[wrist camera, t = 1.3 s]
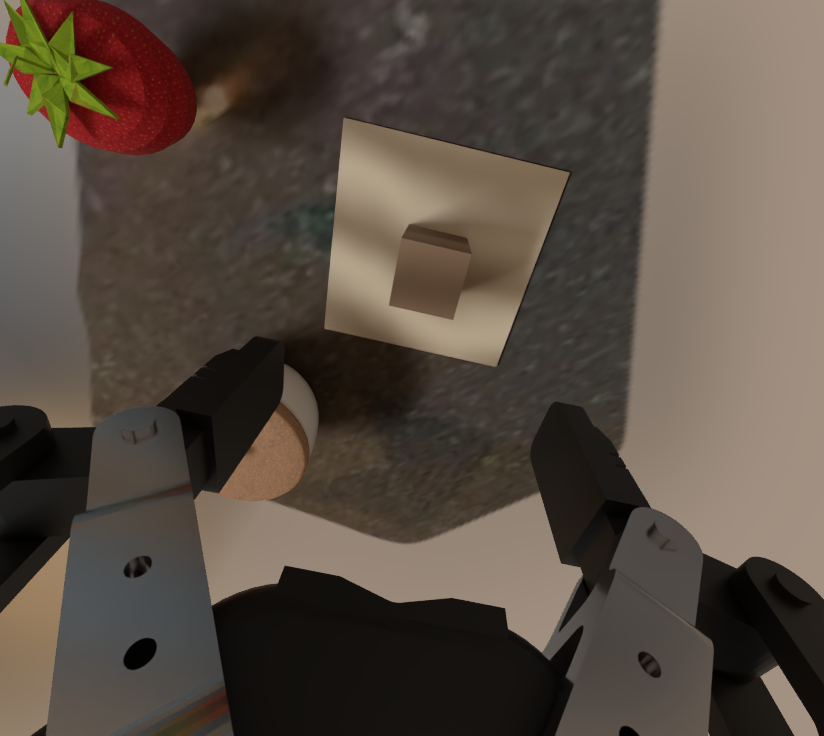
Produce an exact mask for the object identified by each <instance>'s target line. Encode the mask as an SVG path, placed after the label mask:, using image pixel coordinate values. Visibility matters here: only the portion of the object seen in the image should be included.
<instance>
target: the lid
mask: <svg viewBox="0 0 824 736" xmlns="http://www.w3.org/2000/svg"><path fill="white" fill-rule="evenodd" d="M569 174H570V173H569V172H565V171H561V170H557V169H553V168H549V167H545V166H540V165H536V164H532V163H528V162H524V161H520V160H516V159H512V158H508V157H504V156H499V155H495V154H491V153H487V152H483V151H479V150H475V149H471V148H467V147H463V146H458V145H454V144H450V143H446V142H442V141H438V140H434V139H430V138H426V137H422V136H417V135H413V134H409V133H405V132H401V131H397V130H393V129H389V128H385V127H381V126H376V125H372V124H368V123H364V122H360V121H356V120H352V119H348V118H344V120H343V131H342V142H341V153H340V164H339V174H338V185H337V196H336V207H335V218H334V228H333V239H332V250H331V261H330V272H329V282H328V293H327V304H326V315H325V326H324V329H328V330H333V331H337V332H342V333H346V334H351V335H355V336H360V337H364V338H369V339H373V340H378V341H382V342H387V343H391V344H395V345H400V346H404V347H409V348H413V349H418V350H422V351H427V352H431V353H436V354H440V355H445V356H449V357H454V358H458V359H463V360H467V361H472V362H476V363H481V364H485V365H490V366H494V367H496V366H497V364H498V361H499V358H500V356H501V353H502V350H503V348H504V345H505V342H506V340H507V337H508V335H509V332H510V329H511V327H512V324H513V321H514V319H515V316H516V313H517V311H518V308H519V306H520V303H521V300H522V298H523V295H524V292H525V290H526V287H527V284H528V282H529V279H530V277H531V274H532V271H533V269H534V266H535V263H536V261H537V258H538V255H539V253H540V250H541V247H542V245H543V242H544V240H545V237H546V234H547V232H548V229H549V226H550V224H551V221H552V218H553V216H554V213H555V211H556V208H557V205H558V203H559V200H560V197H561V195H562V192H563V189H564V187H565V184H566V182H567V179H568V176H569Z"/></svg>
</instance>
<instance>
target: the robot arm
mask: <svg viewBox="0 0 824 736" xmlns="http://www.w3.org/2000/svg"><path fill="white" fill-rule="evenodd" d="M284 356H285V347H284V343H283V342H281V341H276V340H272V339H267V338H262V337H258V336H255V337H254V338H252V339H251V340H250V341H249V342H248V343H247V344H246V345H245V346H244V347H242V348H241V349H240V350H236V349H231V350H229V351H226V352H224V353H221V354H219V355H216V356H215V357H213V358H212V359H211V360H210V361H209V362H207V363H206V364H205V365H204V367H203V368H200V369H199V370H198V371H197V372H196V373H194V375H193V377H190V378H189V379H187V380H186V381H185V382H184V383H183V384H182V385H180V386H179V387H178V388H177V389H176V390H174V391H173V392H172V393H171V394H170V395H169V396H167V397H166V398H165V399H164V400H163V401H161V402H160V403H159V404H158V405H157V406H142V407H135V408H130V409H127V410H123V411H121V412H118V413H116V414H114V415H112V416H110V417H108V418H107V419H105V420H104V421H103V422H101V423H100V424H99V425H98V426H97V427H83V428H51V426H50V423H49V421H48V418H47V415H46V414H45V413H44V412H43V411H42V410H40V409H38V408H35V407H31V406H23V405H22V406H21V405H19V406H18V405H13V406H2V407H0V613H1V612H2V611H3V609H4V608H5V607H6V606H7V605H8V604H9V603H10V602H11V601H12V599H14V597H15V596H16V595H17V594H18V593H19V592H20V591H21V590H22V589H23V588H24V587H25V585H26V584H27V583H28V582H29V581H30V580H31V579H32V578H33V577H34V576H35V574H36V573H37V572H38V571H39V570H40V569H41V568H42V567H43V566H44V565H45V564H46V562H47V561H48V560H49V559H50V558H51V557H52V556H53V555H54V554H55V553H56V552H57V551H58V549H59V548H60V547H61V546H62V545H63V544H64V543H65V542H66V541H67V540H68V539H69V537H70V541H69V550H68V558H67V566H66V574H65V582H64V591H63V599H62V607H61V616H60V624H59V632H58V640H57V648H56V656H55V665H54V673H53V681H52V689H51V698H50V706H49V714H48V722H47V725H45V726H44V727H42V728H41V729H39V730H38V731H37V732H35V733H34V734H32V736H708V732H709V735H710V736H794V735H793V733H792V731H791V729H790V728H789V726H788V724H787V723H786V721H785V719H784V717H783V715H782V714H781V712H780V710H779V709H778V707H777V705H776V703H775V702H774V700H773V698H772V696H771V695H770V693H769V691H768V689H767V688H766V686H765V684H764V683H763V681H762V679H761V677H760V676H762V675H763V674H764V673H766V672H768V671H770V670H771V669H773V668H774V667H776V666H778V665H779V667H780V668H781V670H782V671H783V673H784V675H785V676H786V678H787V679H788V681H789V683H790V684H791V686H792V687H793V689H794V691H795V692H796V694H797V695H798V697H799V699H800V700H801V702H802V703H803V705H804V707H805V708H806V710H807V711H808V713H809V715H810V716H811V718H812V720H813V721H814V723H815V725H816V728H817V731H818V734H819V736H824V599H823V598H822V597H821V596H820V595H819V594H818V593H817V592H816V591H815V590H814V589H813V588H812V587H811V586H810V585H809V584H808V583H806V582H805V581H804V580H803V579H801V578H800V577H799V576H797V575H796V574H795V573H793V572H792V571H790V570H789V569H787V568H785V567H784V566H782V565H780V564H778V563H776V562H774V561H771V560H768V559H766V558H762V557H751V558H749V559H748V560H746V561H745V562H744V563H743V564H742V565H741V566H740V567H738V568H737V569H736V568H734V567H732V566H730V565H728V564H725V563H723V562H721V561H719V560H716V559H714V558H712V557H710V556H708V555H706V554H703V553H702V550H701V548H700V546H699V544H698V543H697V541H696V540H695V539H694V537H693V536H692V535H691V534H690V533H689V532H688V531H687V530H686V529H685V528H684V527H683V526H682V525H681V524H679V523H678V522H677V521H676V520H674V519H673V518H671V517H669V516H668V515H666V514H664V513H662V512H660V511H657V510H654V509H651V507H650V505H649V504H648V502H647V500H646V499H645V497H644V495H643V494H642V492H641V491H640V489H639V487H638V485H637V484H636V482H635V480H634V479H633V477H632V475H631V474H630V472H629V470H628V469H626V465H625V464H624V462H623V460H622V459H621V458H620V457H619V454H618V452H617V450H616V449H615V447H614V445H613V444H612V442H611V441H610V440H609V439H608V438H607V437H606V436H605V435H604V434H603V433H602V432H601V431H600V430H599V429H598V428H597V427H594V426H593V424H592V423H591V421H590V419H589V417H588V416H587V414H586V412H585V410H584V409H583V408H582V407H579V406H574V405H570V404H565V403H560V402H554V403H553V404H552V405H551V406H550V408H549V410H548V412H547V414H546V416H545V418H544V420H543V422H542V424H541V426H540V428H539V430H538V432H537V434H536V436H535V438H534V440H533V443H532V446H531V463H532V466H533V469H534V473H535V476H536V480H537V483H538V486H539V490H540V493H541V497H542V500H543V503H544V507H545V510H546V514H547V517H548V520H549V524H550V527H551V531H552V534H553V537H554V541H555V544H556V548H557V551H558V554H559V558H560V561H561V563H562V564H567V565H572V566H577V567H581V570H582V573H583V575H582V577H581V578H580V579H579V581H578V582H577V584H576V586H575V588H574V590H573V592H572V594H571V596H570V599H569V601H568V603H567V605H566V607H565V609H564V611H563V613H562V615H561V618H560V620H559V622H558V624H557V626H556V628H555V630H554V632H553V634H552V636H551V638H550V640H549V642H548V644H547V646H546V647H545V649H544V651H543V652H542V653H541V652H540V651H539V650H538V649H537V648H535V647H534V646H533V645H531V644H530V643H529V642H528V641H527V640H525V639H524V638H522V637H521V636H519V635H517V634H516V633H514V632H512V631H511V630H509V629H508V626H507V620H506V612H505V608H501V607H495V606H490V605H485V604H480V603H475V602H470V601H465V600H459V599H454V598H447V599H436V600H426V601H415V602H404V603H395V602H391V601H388V600H386V599H384V598H382V597H380V596H378V595H376V594H374V593H372V592H370V591H368V590H366V589H364V588H362V587H360V586H358V585H356V584H354V583H352V582H350V581H348V580H346V579H344V578H342V577H340V576H335V575H330V574H325V573H320V572H315V571H310V570H305V569H300V568H294V567H289V566H285V567H284V569H283V572H282V574H281V577H280V579H279V582H278V584H269V585H264V586H259V587H254V588H251V589H248V590H245V591H242V592H239V593H236V594H234V595H232V596H230V597H228V598H225V599H223V600H221V601H220V602H218V603H216V604H214V605H211V599H210V594H209V587H208V582H207V575H206V569H205V563H204V558H203V552H202V546H201V539H200V533H199V528H198V522H197V516H196V509H195V504H194V500H195V498H196V497H197V496H198V494H199V493H200V492H201V490H204V491H209V492H214V493H220V491H221V490H222V488H223V487H224V485H225V484H226V483H227V481H228V480H229V478H230V477H231V475H232V474H233V472H234V471H235V469H236V468H237V466H238V465H239V463H240V462H241V460H242V459H243V457H244V456H245V454H246V453H247V452H248V450H249V449H250V447H251V446H252V444H253V443H254V441H255V440H256V438H257V437H258V435H259V434H260V432H261V431H262V429H263V428H264V426H265V425H266V424H267V422H268V421H269V419H270V418H271V416H272V415H273V413H274V412H275V410H276V409H277V407H278V405H279V403H280V401H281V398H282V394H283V388H284Z"/></svg>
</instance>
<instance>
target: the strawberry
mask: <svg viewBox="0 0 824 736" xmlns="http://www.w3.org/2000/svg"><path fill="white" fill-rule="evenodd" d="M4 2H5V1H4ZM20 2H21V6H20V7H19V8H18V9H17V10H16V11H15V10H14V9H13V8H12V7H11V6H10V5H9V4H8V3H7V2H5V5H6V7H7V10H8V13H9V15H10V18H11V20H10V23H9V27H8V32H7V36H6V44H4V43H0V55H1V56H2V57H3V58H4V59H6V60H7V61H8V62H9V64H10V69H9V72H8V74H7V77H6V80H5V82H4V85H5V86H6V87H7V85H8V83H9V80H10V77H11V75H12V72H13V74H14V77H15V78H16V80H17V82H18V84H19V85H20V87H21V89H22V90H23V92H24V93H25V94H26V96H27V97H28V98H29V106H28V112H27V113H28V114H30V115H33V114H34V113H35V112H36V111H39V112H41V114H42V115H43V116H45V117H46V118H47V119H48V120H49V121H50V123H51V126H52V129H53V133H54V135H55V139H56V142H57V145H58V147H59V148H62V145H63V142H64V138H65V134H68V135H69V136H71V137H73V138H74V139H76V140H78V141H80V142H83V143H85V144H87V145H90V146H93V147H96V148H100V149H104V150H108V151H112V152H117V153H121V154H127V155H146V154H152V153H155V152H158V151H161V150H163V149H165V148H167V147H169V146H170V145H172V144H174V143H176V142H177V141H179V140H181V139H182V138H184V137H185V135H186V134H187V133H188V132H189V131H190V129H191V127H192V125H193V123H194V121H195V116H196V111H197V108H196V96H195V91H194V87H193V84H192V82H191V79H190V77H189V75H188V73H187V71H186V70H185V68H184V66H183V65H182V63H181V62H180V60H179V59H178V58H177V57H176V56H175V54H174V53H173V52H172V51H171V50H170V49H169V48H168V47H167V46H166V45H165V44H164V43H163V42H162V41H160V40H159V39H158V38H157V37H156V36H155V35H154V34H153V33H152V32H151V31H150V30H148V29H147V28H146V27H145V26H144V25H143V24H142V23H141V22H140V21H138V20H137V19H135V18H134V17H132V16H131V15H129V14H128V13H126V12H125V11H123V10H121V9H119V8H117V7H115V6H112V5H110V4H108V3H106V2H102V1H98V0H20Z"/></svg>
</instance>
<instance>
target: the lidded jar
mask: <svg viewBox="0 0 824 736" xmlns="http://www.w3.org/2000/svg"><path fill="white" fill-rule="evenodd" d="M176 389H177V388H176ZM176 389H175V390H176ZM171 393H172V392H171ZM171 393H170V394H171ZM170 394H169V395H170ZM169 395H168V396H169ZM165 398H166V397H165ZM165 398H164V399H165ZM164 399H163V400H164ZM318 424H319V413H318V406H317V401H316V399H315V396H314V394H313V392H312V390H311V388H310V386H309V384H308V383H307V382H306V381H305V379H304V378H303V377H302V376H301V375H300V374H299V373H298V372H297V371H296V370H294V369H293V368H292V367H290V366H288V365H287V364H284V388H283V394H282V398H281V401H280V403H279V405H278V407H277V409H276V410H275V412H274V413H273V415H272V416H271V418H270V419H269V421H268V422H267V424H266V425H265V426H264V428H263V429H262V431H261V432H260V434H259V435H258V437H257V438H256V440H255V441H254V443H253V444H252V446H251V447H250V449H249V450H248V452H247V453H246V454H245V456H244V457H243V459H242V460H241V462H240V463H239V465H238V466H237V468H236V469H235V471H234V472H233V474H232V475H231V477H230V478H229V480H228V481H227V483H226V484H225V485H224V487H223V488H222V490H221V491H220V493H215V494H219V495H221V496H224V497H228V498H232V499H238V500H246V501H259V500H267V499H273V498H275V497H278V496H281V495H283V494H285V493H287V492H288V491H290V490H291V489H293V488H294V487H295V486H296V485H297V484H298V482H299V481H300V480H301V478H302V476H303V474H304V472H305V470H306V467H307V465H308V460H309V457H310V455H311V452H312V450H313V447H314V444H315V440H316V436H317V431H318ZM213 493H214V492H213Z"/></svg>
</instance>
